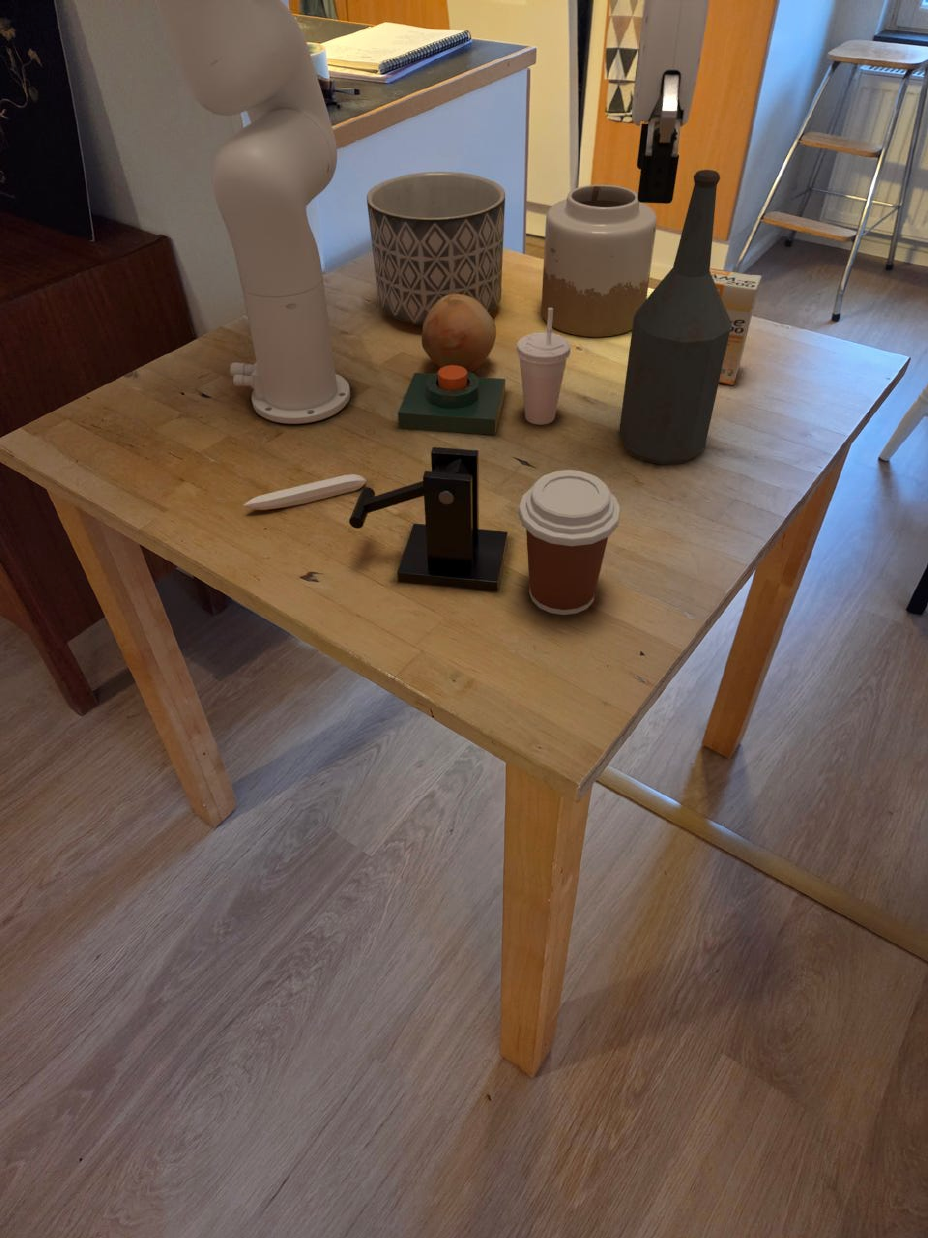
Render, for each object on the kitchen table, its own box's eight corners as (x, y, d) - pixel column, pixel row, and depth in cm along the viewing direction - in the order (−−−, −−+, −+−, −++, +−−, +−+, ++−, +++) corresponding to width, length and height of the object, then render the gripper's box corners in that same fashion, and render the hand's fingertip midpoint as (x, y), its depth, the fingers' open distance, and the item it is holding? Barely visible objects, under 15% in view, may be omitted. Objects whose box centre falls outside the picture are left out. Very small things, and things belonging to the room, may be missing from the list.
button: (435, 391, 104) (435, 378, 103) (441, 376, 107) (440, 363, 105) (464, 393, 104) (464, 380, 102) (469, 378, 106) (469, 365, 105)
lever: (356, 534, 83) (343, 515, 81) (368, 503, 86) (356, 485, 85) (466, 500, 78) (454, 480, 76) (474, 470, 81) (463, 449, 80)
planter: (504, 337, 122) (506, 217, 110) (371, 338, 122) (359, 219, 111) (502, 282, 136) (503, 170, 124) (382, 283, 136) (373, 172, 124)
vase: (617, 347, 119) (632, 223, 107) (522, 322, 125) (527, 202, 113) (659, 306, 128) (677, 188, 117) (569, 285, 134) (578, 171, 123)
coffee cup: (559, 550, 87) (567, 450, 79) (628, 592, 83) (644, 492, 74) (496, 591, 83) (497, 491, 75) (565, 639, 78) (575, 537, 70)
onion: (507, 377, 113) (509, 304, 106) (438, 392, 111) (435, 318, 104) (479, 346, 120) (479, 275, 113) (413, 359, 117) (409, 288, 110)
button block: (398, 428, 105) (396, 399, 102) (415, 387, 112) (413, 359, 109) (495, 435, 103) (495, 405, 100) (505, 394, 110) (505, 365, 108)
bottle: (653, 411, 107) (695, 149, 86) (720, 441, 101) (782, 170, 81) (601, 444, 101) (633, 173, 81) (669, 477, 96) (721, 197, 75)
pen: (243, 510, 93) (240, 498, 92) (364, 481, 97) (363, 468, 96) (246, 519, 92) (243, 506, 91) (368, 488, 96) (367, 476, 95)
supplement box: (671, 376, 113) (688, 278, 104) (678, 360, 116) (695, 263, 107) (734, 387, 111) (756, 288, 102) (739, 370, 114) (762, 273, 105)
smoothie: (562, 432, 103) (570, 322, 94) (510, 427, 104) (513, 318, 95) (568, 406, 108) (576, 298, 98) (518, 401, 109) (522, 294, 99)
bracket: (397, 581, 84) (388, 483, 76) (414, 532, 90) (407, 435, 82) (497, 591, 83) (499, 492, 75) (507, 540, 89) (510, 443, 80)
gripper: (636, -52, 77) (615, 156, 89) (638, -22, 64) (612, 214, 76) (721, -51, 76) (688, 158, 88) (739, -21, 64) (697, 218, 76)
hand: (653, 184), depth 82 cm, fingers open, 9 cm apart
